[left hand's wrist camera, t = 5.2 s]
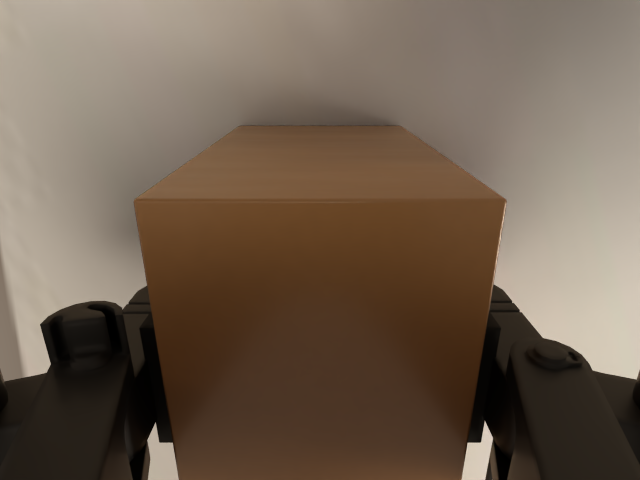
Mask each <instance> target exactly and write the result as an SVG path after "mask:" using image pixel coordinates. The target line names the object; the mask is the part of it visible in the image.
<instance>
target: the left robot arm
mask: <svg viewBox="0 0 640 480" xmlns="http://www.w3.org/2000/svg"><path fill="white" fill-rule="evenodd" d="M40 326H41V329H42V333H43V337H44V340H45V344H46V348H47V351H48V355H49V359H50V362H51V365H50V367H49V369H48V371H47V373H44V374H40V375H35V376H30V377H25V378H20V379H15V380H10V381H5V382H4V379H3V376H2V373H1V370H0V480H148V473H149V465H150V454H149V447H148V442H147V439H148V437H149V435H150V433H151V431H152V429H153V426H154V424H155V422H156V425H157V431H158V437H159V442H173V440H172V434H171V428H170V422H169V416H168V409H167V403H166V397H165V391H164V385H163V379H162V373H161V367H160V360H159V354H158V348H157V342H156V336H155V330H154V324H153V317H152V311H151V305H150V299H149V293H148V287H147V286H146V287H144V288H142V289H141V290H139V291H138V292H137V293H136V294H135V295H134V296H133V298H132V299H131V300H130V301H129V304H128V305H126V306H125V307H124V309H123V310H122V308H121V307H120V306H119V305H117V304H116V303H112V302H107V301H90V302H85V303H80V304H75V305H72V306H69V307H66V308H64V309H61V310H59V311H57V312H55V313H54V314H52V315H50V316H48V317H47V318H46V319H45V320H44V321H43V322H42V323H41V324H40ZM484 421H486V424H487V426H488V428H489V430H490V432H491V434H492V436H493V442H492V447H491V453H490V458H489V463H488V468H487V474H486V479H485V480H640V371H639V374H638V377H637V380H635V379H630V378H625V377H620V376H615V375H610V374H605V373H600V372H596V371H592V369H591V367H590V365H589V363H588V362H587V361H586V359H585V358H584V357H583V356H582V355H581V354H580V353H578V352H577V351H575V350H574V349H572V348H571V347H569V346H566V345H564V344H562V343H559V342H557V341H553V340H549V339H544V338H542V337H541V335H540V334H539V333H538V332H537V330H536V329H535V328H534V327H533V326H532V324H531V323H530V322H529V321H528V320H527V318H526V317H525V316H524V315H523V314H522V312H520V310H519V309H518V308H517V306H516V305H515V304H514V303H512V300H511V299H510V298H509V297H508V295H507V294H506V293H505V292H504V291H503V290H502V289H500V288H499V287H497V286H495V285H494V284H493V289H492V296H491V302H490V308H489V314H488V320H487V326H486V332H485V338H484V345H483V351H482V357H481V363H480V369H479V375H478V381H477V387H476V393H475V400H474V406H473V412H472V418H471V424H470V430H469V436H468V442H481V438H482V433H483V427H484Z"/></svg>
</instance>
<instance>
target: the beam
mask: <svg viewBox="0 0 640 480" xmlns="http://www.w3.org/2000/svg"><path fill="white" fill-rule="evenodd" d="M506 204H507V202H506V199H505V198H503V197H502V196H500V195H499V194H497V193H496V192H495V191H493V190H492V189H490V188H489V187H487V186H486V185H485V184H483V183H482V182H480V181H479V180H477V179H476V178H475V177H473V176H472V175H470V174H469V173H467V172H466V171H465V170H463V169H462V168H460V167H459V166H457V165H456V164H455V163H453V162H452V161H450V160H449V159H447V158H446V157H445V156H443V155H442V154H440V153H439V152H437V151H436V150H435V149H433V148H432V147H430V146H429V145H427V144H426V143H424V142H423V141H422V140H420V139H419V138H417V137H416V136H414V135H413V134H412V133H410V132H409V131H407V130H406V129H404V128H403V127H402V126H239V127H237V128H236V129H234V130H233V131H232V132H230V133H229V134H227V135H226V136H224V137H223V138H222V139H220V140H219V141H217V142H216V143H214V144H213V145H212V146H210V147H209V148H207V149H206V150H204V151H203V152H202V153H200V154H199V155H197V156H196V157H194V158H193V159H192V160H190V161H189V162H187V163H186V164H184V165H183V166H182V167H180V168H179V169H177V170H176V171H174V172H173V173H172V174H170V175H169V176H167V177H166V178H164V179H163V180H162V181H160V182H159V183H157V184H156V185H154V186H153V187H152V188H150V189H149V190H147V191H146V192H144V193H143V194H142V195H140V196H139V197H137V198H136V199H135V200H134V207H135V213H136V219H137V225H138V232H139V238H140V244H141V250H142V256H143V262H144V268H145V275H146V281H147V287H148V293H149V299H150V305H151V311H152V317H153V324H154V330H155V336H156V342H157V348H158V354H159V360H160V367H161V373H162V379H163V385H164V391H165V397H166V403H167V409H168V416H169V422H170V428H171V434H172V440H173V446H174V452H175V458H176V465H177V471H178V477H179V480H461V479H462V473H463V467H464V461H465V455H466V449H467V442H468V436H469V430H470V424H471V418H472V412H473V406H474V400H475V393H476V387H477V381H478V375H479V369H480V363H481V357H482V351H483V345H484V338H485V332H486V326H487V320H488V314H489V308H490V302H491V296H492V289H493V283H494V277H495V271H496V265H497V259H498V253H499V247H500V241H501V234H502V228H503V222H504V216H505V210H506Z"/></svg>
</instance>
